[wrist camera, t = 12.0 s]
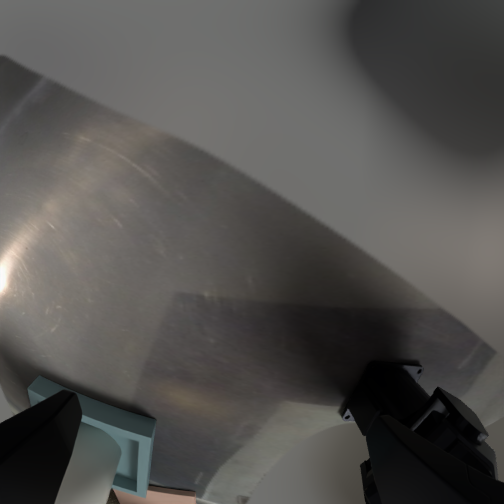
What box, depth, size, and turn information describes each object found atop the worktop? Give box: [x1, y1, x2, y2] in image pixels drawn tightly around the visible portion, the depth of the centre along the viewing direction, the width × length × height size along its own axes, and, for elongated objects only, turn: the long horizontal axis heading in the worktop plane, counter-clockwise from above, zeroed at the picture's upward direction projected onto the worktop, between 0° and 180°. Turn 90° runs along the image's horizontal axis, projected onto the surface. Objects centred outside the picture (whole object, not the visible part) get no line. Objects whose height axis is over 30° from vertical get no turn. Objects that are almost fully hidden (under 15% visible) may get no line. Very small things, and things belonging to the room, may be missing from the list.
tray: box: [27, 375, 156, 498], centre depth 20 cm, size 12×12×2 cm
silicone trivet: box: [113, 485, 196, 504], centre depth 24 cm, size 10×7×1 cm
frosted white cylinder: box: [55, 422, 122, 504], centre depth 14 cm, size 6×6×13 cm
